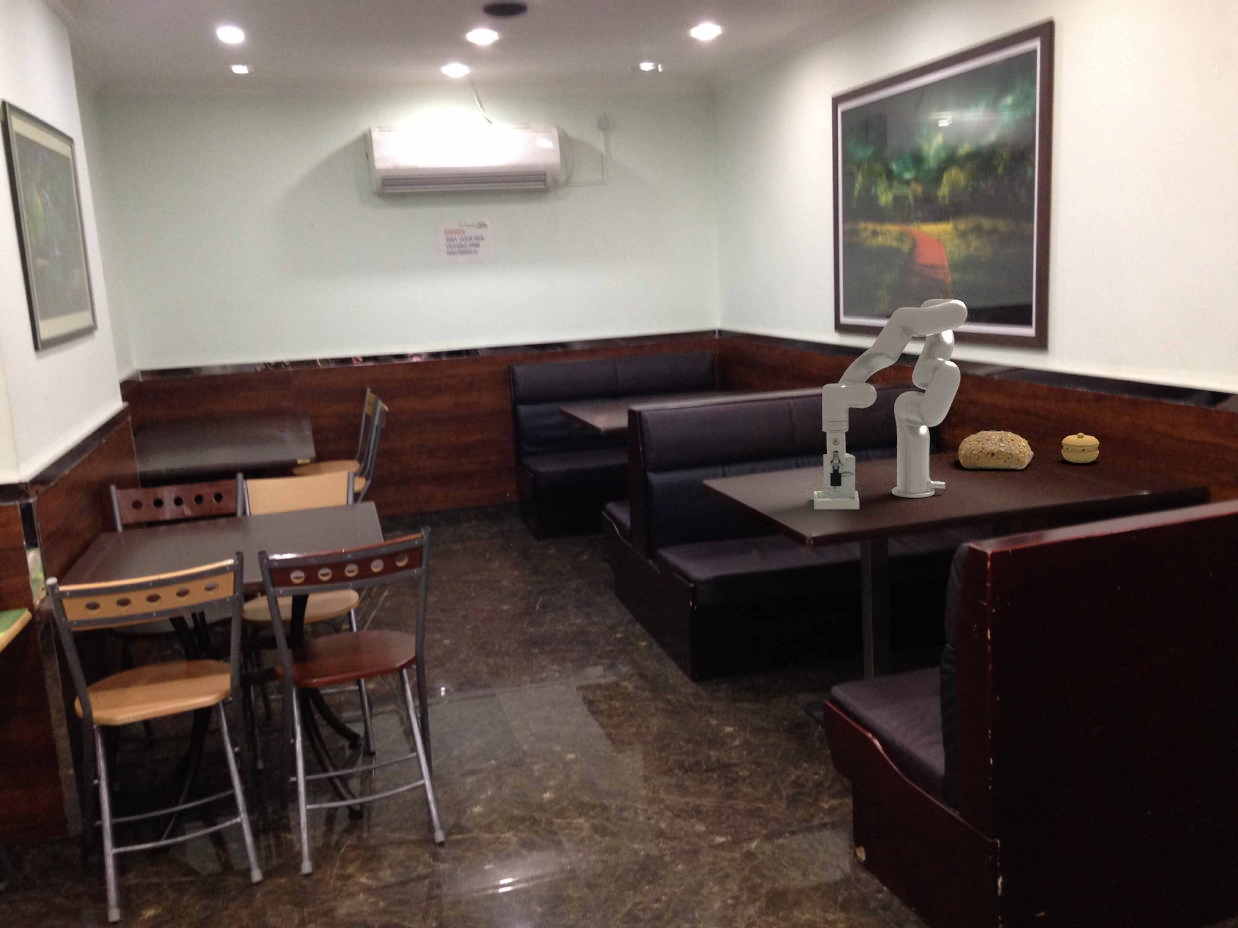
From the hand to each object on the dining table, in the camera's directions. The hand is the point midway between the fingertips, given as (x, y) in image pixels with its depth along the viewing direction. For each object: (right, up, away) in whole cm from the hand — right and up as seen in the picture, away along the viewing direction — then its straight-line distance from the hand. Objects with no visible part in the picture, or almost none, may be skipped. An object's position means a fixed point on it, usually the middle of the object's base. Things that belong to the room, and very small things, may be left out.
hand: (835, 482), depth 310 cm
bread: (+64, +5, +45) cm, 79 cm away
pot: (+92, +6, +43) cm, 102 cm away
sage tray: (0, -7, +1) cm, 7 cm away
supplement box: (+1, -4, +1) cm, 5 cm away
